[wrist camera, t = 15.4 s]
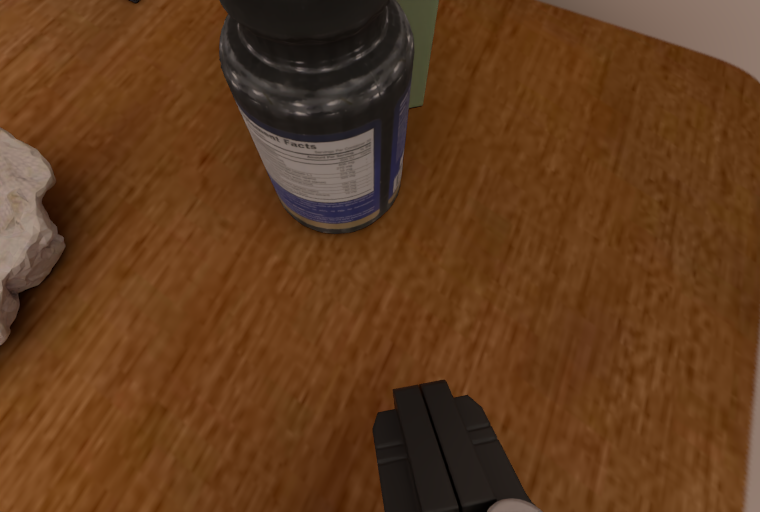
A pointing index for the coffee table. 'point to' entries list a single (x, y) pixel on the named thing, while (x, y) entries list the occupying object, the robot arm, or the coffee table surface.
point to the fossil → (23, 225)
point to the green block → (420, 43)
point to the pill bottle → (323, 101)
